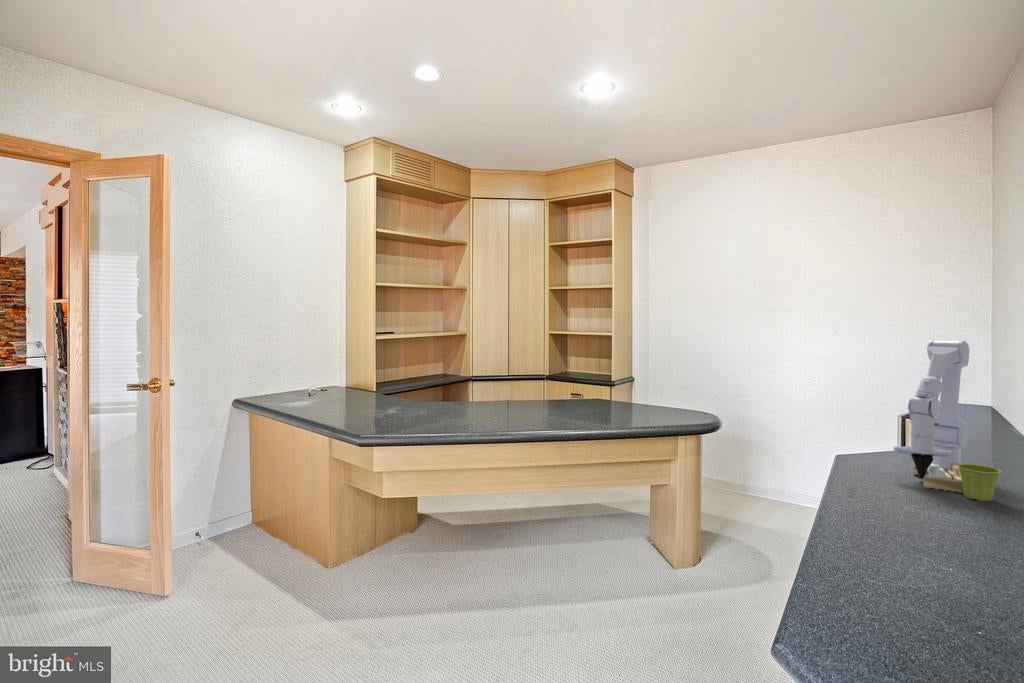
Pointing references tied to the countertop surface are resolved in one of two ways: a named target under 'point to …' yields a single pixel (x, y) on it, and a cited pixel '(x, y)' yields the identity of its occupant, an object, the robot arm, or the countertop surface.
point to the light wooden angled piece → (943, 483)
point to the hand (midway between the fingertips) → (921, 478)
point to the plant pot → (978, 481)
